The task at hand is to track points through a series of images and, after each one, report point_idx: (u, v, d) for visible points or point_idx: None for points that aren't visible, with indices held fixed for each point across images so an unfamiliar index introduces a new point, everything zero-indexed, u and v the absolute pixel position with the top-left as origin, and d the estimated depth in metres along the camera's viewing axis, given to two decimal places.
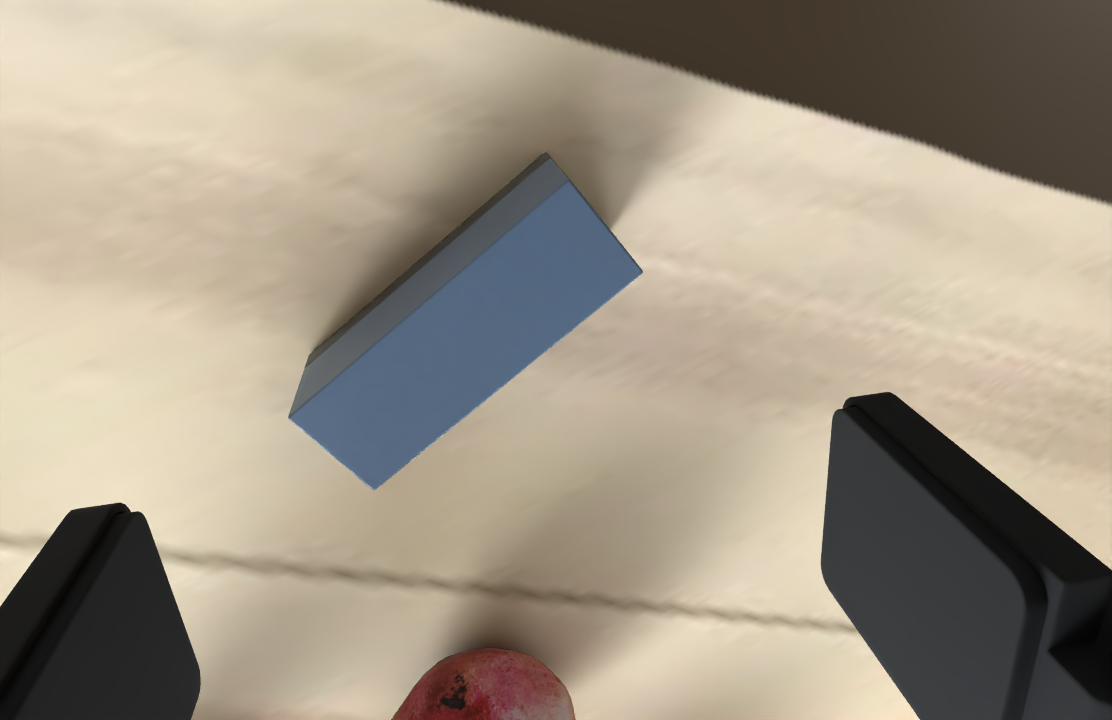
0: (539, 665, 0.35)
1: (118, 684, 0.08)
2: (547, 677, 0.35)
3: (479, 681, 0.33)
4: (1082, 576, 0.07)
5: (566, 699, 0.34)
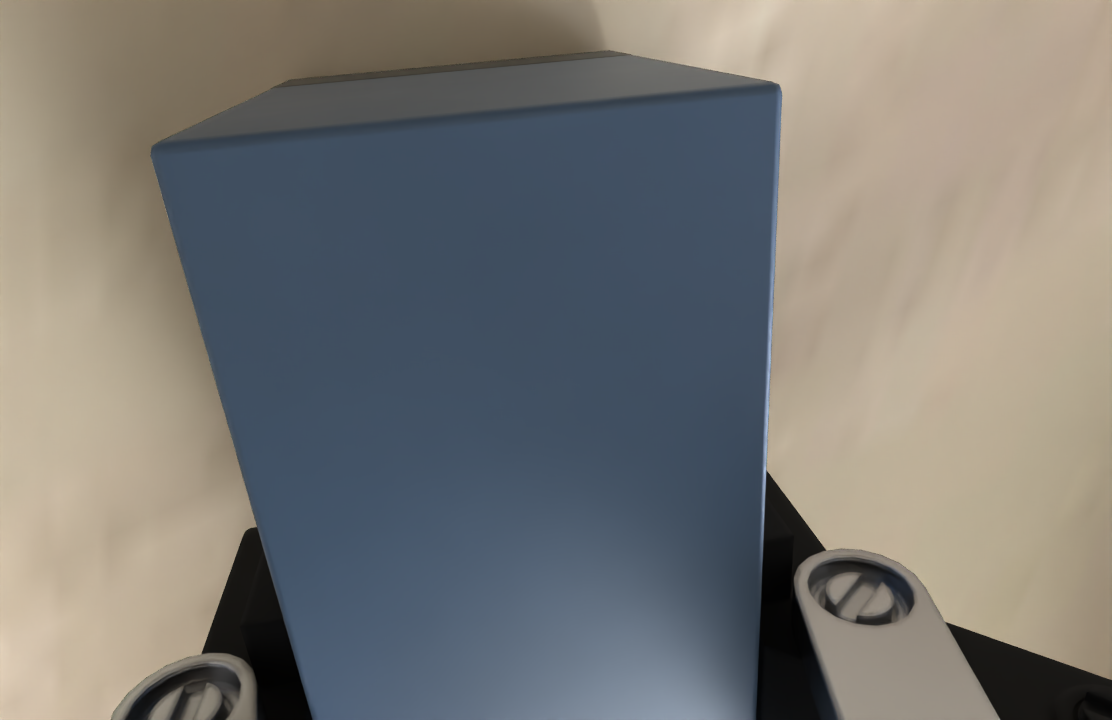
0: None
1: None
2: None
3: None
4: (766, 538, 0.08)
5: None
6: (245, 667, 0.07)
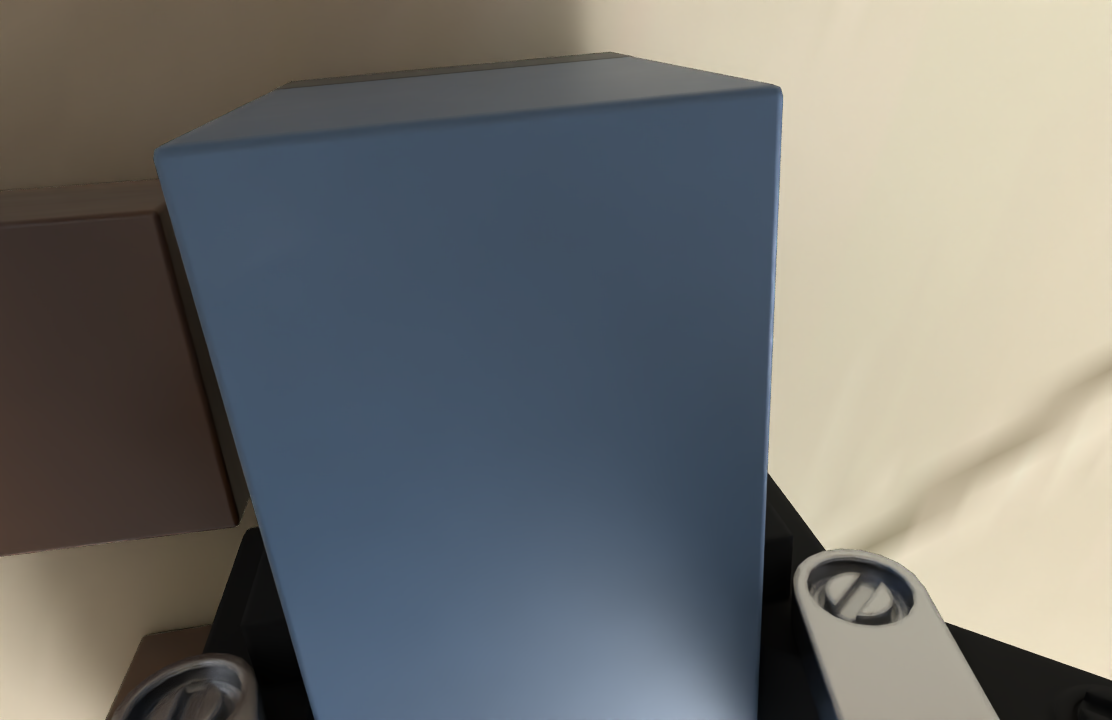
0: None
1: None
2: None
3: None
4: (765, 538, 0.08)
5: None
6: (245, 667, 0.07)
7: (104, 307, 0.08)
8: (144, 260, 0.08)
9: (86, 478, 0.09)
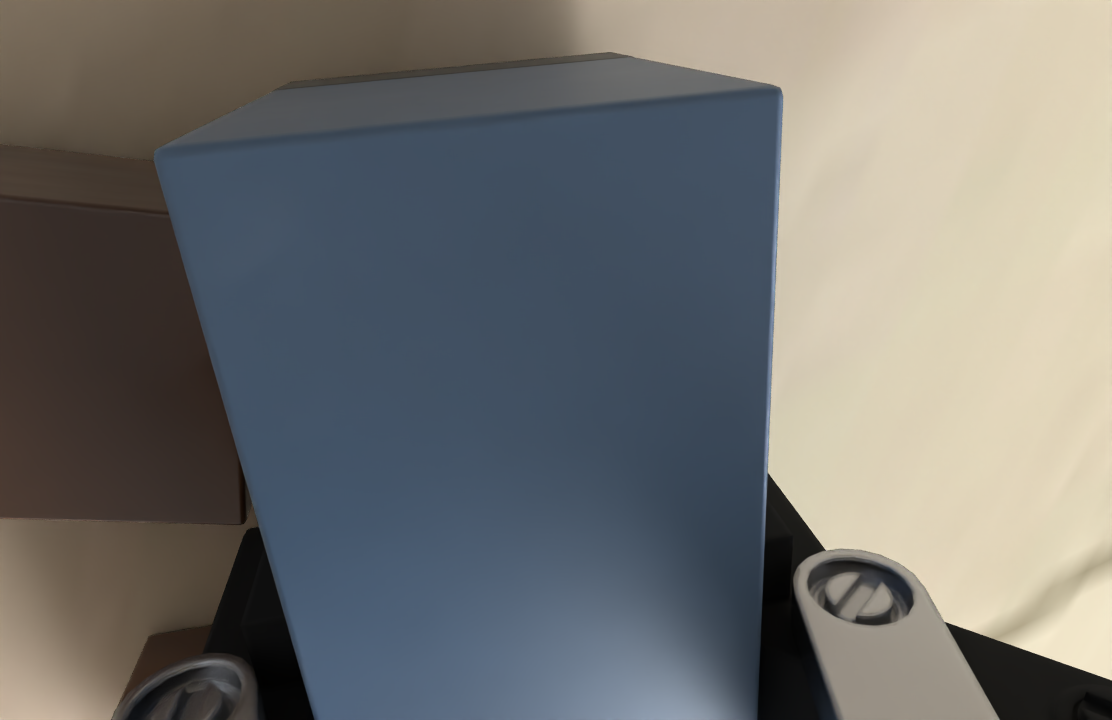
0: None
1: None
2: None
3: None
4: (765, 538, 0.08)
5: None
6: (246, 667, 0.07)
7: (162, 300, 0.08)
8: None
9: (104, 458, 0.09)
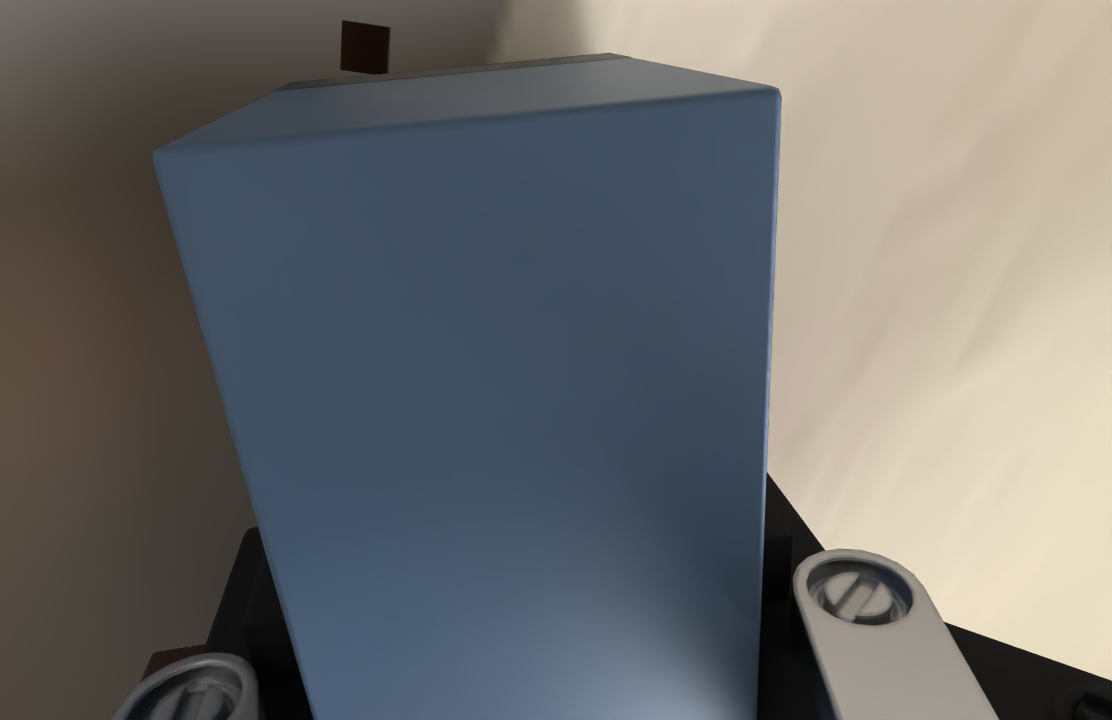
0: None
1: None
2: None
3: None
4: (765, 538, 0.08)
5: None
6: (246, 667, 0.07)
7: (380, 38, 0.67)
8: (386, 33, 0.67)
9: (369, 62, 0.67)
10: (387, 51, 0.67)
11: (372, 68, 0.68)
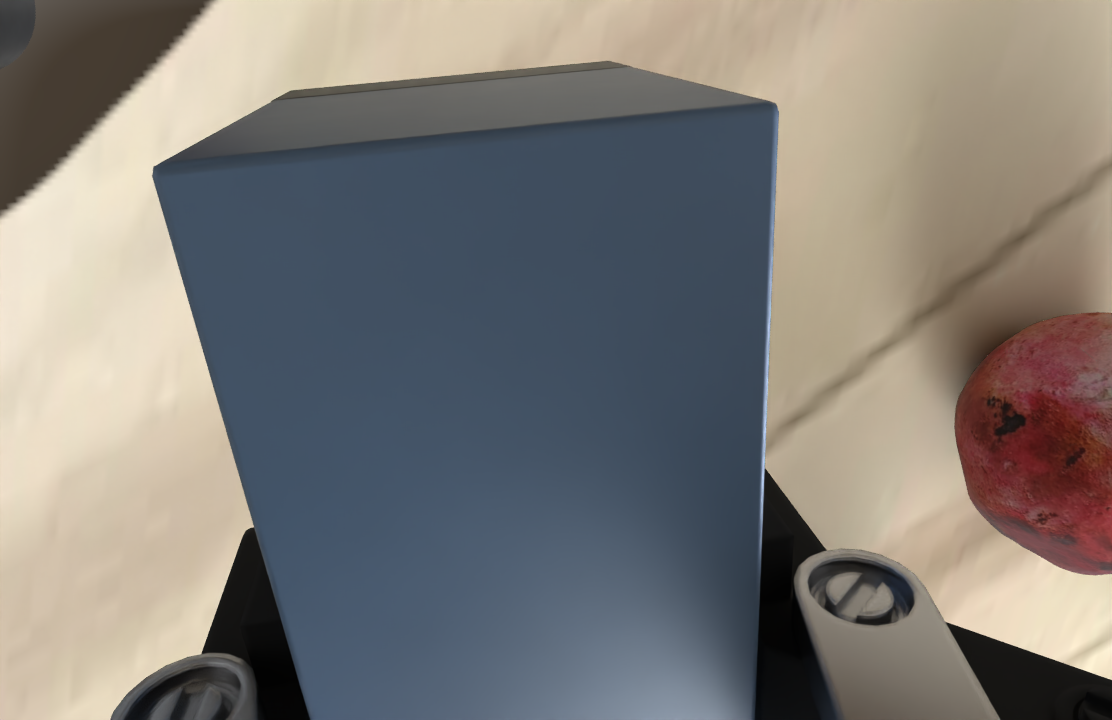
0: (1057, 320, 0.28)
1: None
2: (1079, 322, 0.27)
3: (1014, 386, 0.26)
4: (766, 538, 0.08)
5: None
6: (245, 667, 0.07)
7: None
8: None
9: None
10: None
11: None
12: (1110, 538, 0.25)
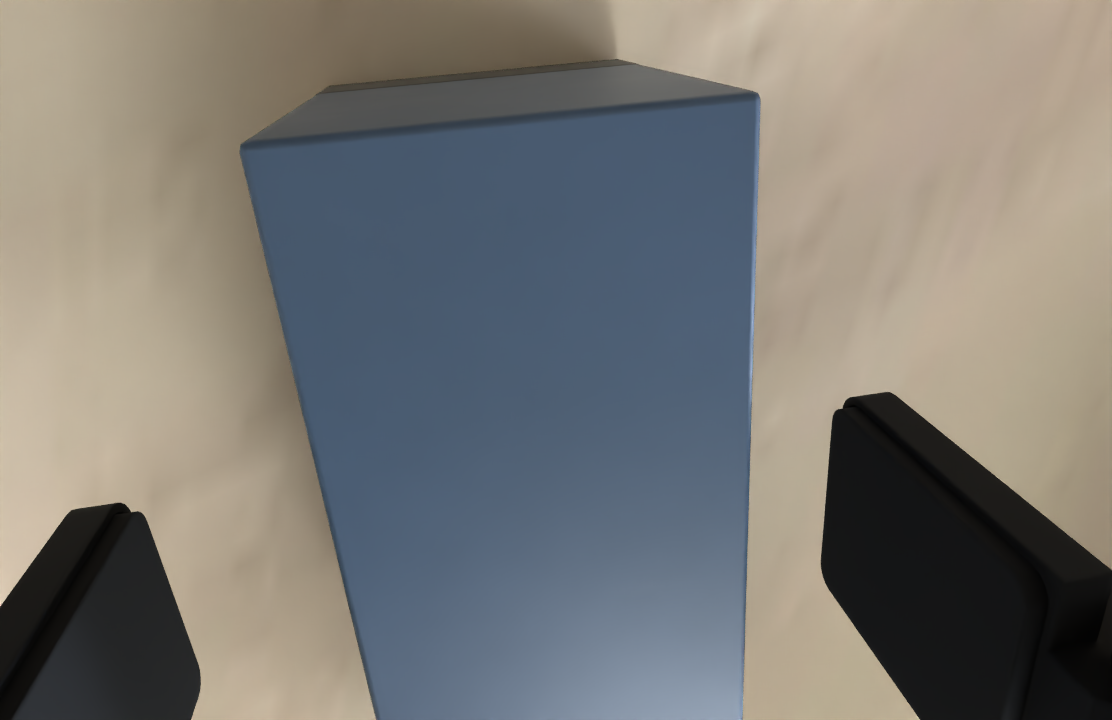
0: None
1: (118, 684, 0.08)
2: None
3: None
4: (1082, 576, 0.07)
5: None
6: None
7: None
8: None
9: None
10: None
11: None
12: None
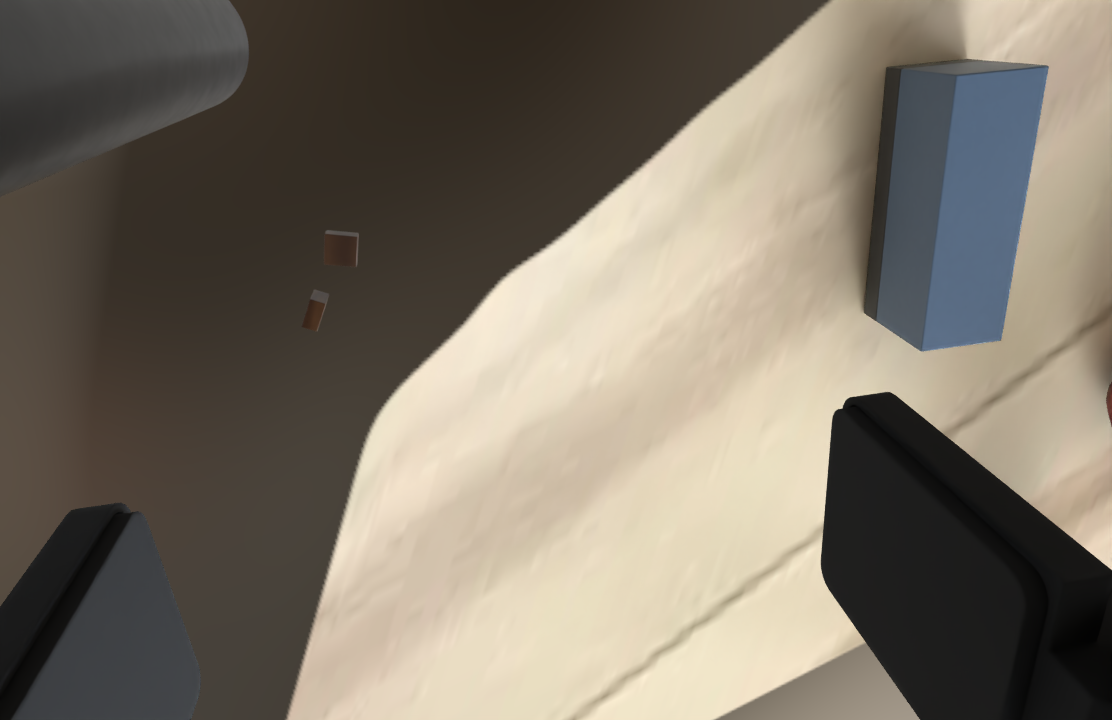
0: None
1: (118, 684, 0.08)
2: None
3: None
4: (1082, 576, 0.07)
5: None
6: None
7: (350, 243, 0.98)
8: (355, 240, 0.98)
9: (344, 259, 0.99)
10: (356, 251, 0.98)
11: (346, 262, 0.99)
12: None
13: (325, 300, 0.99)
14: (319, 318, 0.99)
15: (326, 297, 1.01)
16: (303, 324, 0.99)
